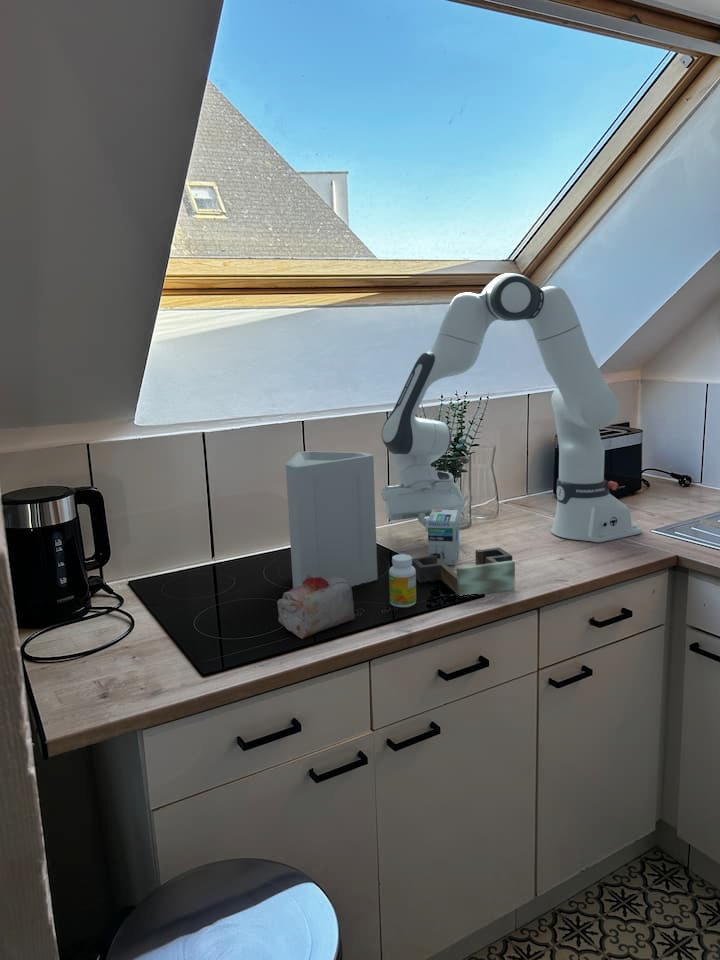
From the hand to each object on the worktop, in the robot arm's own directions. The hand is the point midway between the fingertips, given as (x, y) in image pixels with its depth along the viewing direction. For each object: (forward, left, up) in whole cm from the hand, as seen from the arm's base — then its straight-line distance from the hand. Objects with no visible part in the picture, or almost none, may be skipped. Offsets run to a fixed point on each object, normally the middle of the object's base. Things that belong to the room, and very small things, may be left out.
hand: (432, 529), depth 179 cm
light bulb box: (0, +8, -5) cm, 9 cm away
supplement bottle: (+18, +31, -5) cm, 36 cm away
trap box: (0, +23, -5) cm, 23 cm away
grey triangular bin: (+30, +12, -5) cm, 33 cm away
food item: (+37, +36, -5) cm, 52 cm away
